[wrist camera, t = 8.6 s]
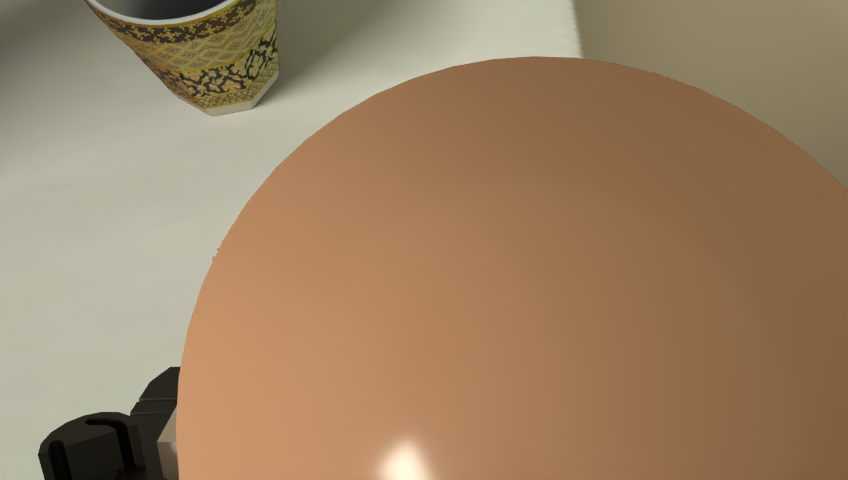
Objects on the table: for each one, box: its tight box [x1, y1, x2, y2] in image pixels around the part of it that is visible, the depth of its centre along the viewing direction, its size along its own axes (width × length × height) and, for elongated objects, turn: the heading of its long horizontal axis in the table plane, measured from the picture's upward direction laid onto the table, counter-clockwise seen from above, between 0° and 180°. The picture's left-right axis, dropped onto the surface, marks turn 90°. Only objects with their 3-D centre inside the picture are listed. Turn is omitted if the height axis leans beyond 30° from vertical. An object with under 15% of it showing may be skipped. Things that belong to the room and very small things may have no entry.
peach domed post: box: [176, 56, 848, 480], centre depth 14 cm, size 10×10×11 cm
